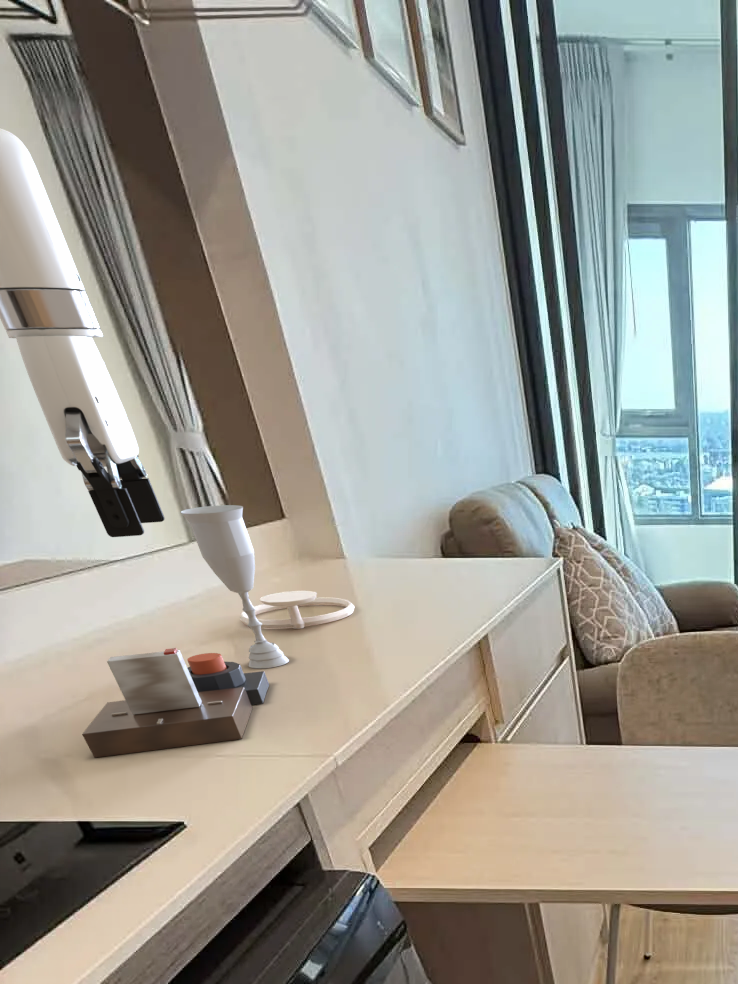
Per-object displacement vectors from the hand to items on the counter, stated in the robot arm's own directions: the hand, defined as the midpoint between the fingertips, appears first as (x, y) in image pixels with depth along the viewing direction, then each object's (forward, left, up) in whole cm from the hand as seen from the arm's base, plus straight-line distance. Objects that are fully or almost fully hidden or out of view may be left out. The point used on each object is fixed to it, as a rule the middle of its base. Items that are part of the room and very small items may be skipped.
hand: (138, 528), depth 89 cm
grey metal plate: (-2, -8, -16) cm, 18 cm away
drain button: (+1, +3, -15) cm, 16 cm away
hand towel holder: (+7, +43, -19) cm, 48 cm away
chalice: (+5, +18, -19) cm, 26 cm away
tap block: (-2, -8, -18) cm, 20 cm away
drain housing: (+1, +3, -18) cm, 19 cm away
